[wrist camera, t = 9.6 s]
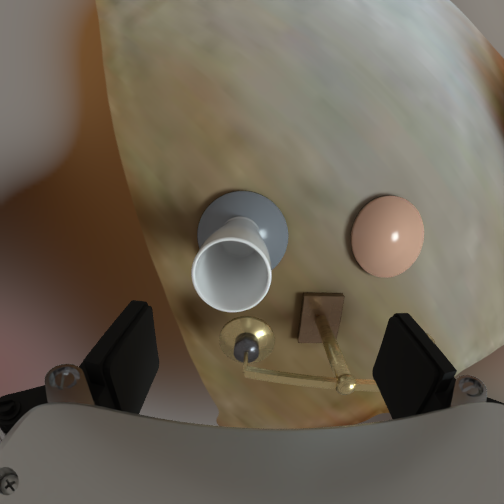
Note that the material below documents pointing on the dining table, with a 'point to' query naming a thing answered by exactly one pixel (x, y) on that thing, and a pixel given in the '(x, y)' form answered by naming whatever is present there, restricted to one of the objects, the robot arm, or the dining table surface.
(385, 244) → the pink dome
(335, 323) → the balance
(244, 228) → the drinking glass
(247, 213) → the dish slate
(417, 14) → the dining table surface
